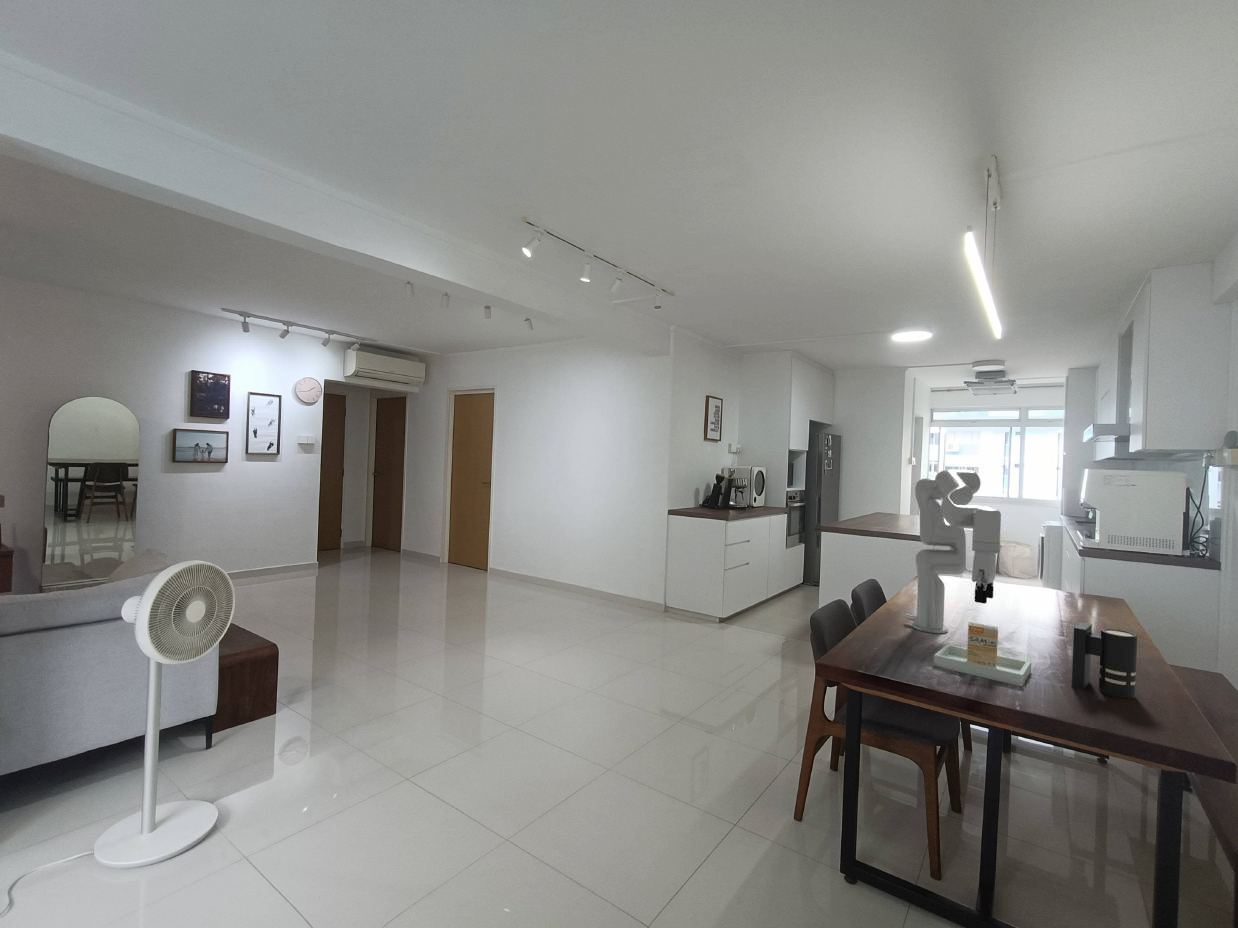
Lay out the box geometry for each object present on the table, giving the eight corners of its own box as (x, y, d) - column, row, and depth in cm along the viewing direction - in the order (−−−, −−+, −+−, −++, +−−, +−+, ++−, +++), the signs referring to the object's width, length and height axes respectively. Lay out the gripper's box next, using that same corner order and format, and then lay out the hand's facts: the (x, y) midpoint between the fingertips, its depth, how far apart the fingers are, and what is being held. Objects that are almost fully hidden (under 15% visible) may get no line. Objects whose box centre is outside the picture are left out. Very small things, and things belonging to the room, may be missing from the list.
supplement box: (966, 665, 189) (967, 624, 189) (966, 660, 193) (968, 621, 193) (996, 670, 185) (998, 629, 184) (996, 666, 189) (998, 625, 188)
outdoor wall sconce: (1132, 702, 165) (1134, 639, 165) (1071, 687, 175) (1073, 627, 175) (1137, 693, 172) (1139, 632, 171) (1078, 679, 182) (1080, 621, 182)
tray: (933, 665, 191) (934, 654, 191) (946, 654, 203) (947, 643, 203) (1022, 686, 175) (1022, 674, 175) (1030, 672, 186) (1031, 661, 186)
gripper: (978, 542, 197) (976, 593, 197) (966, 548, 184) (964, 602, 185) (1004, 545, 192) (1002, 597, 192) (993, 551, 179) (991, 607, 180)
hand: (983, 599), depth 189 cm, fingers open, 9 cm apart
